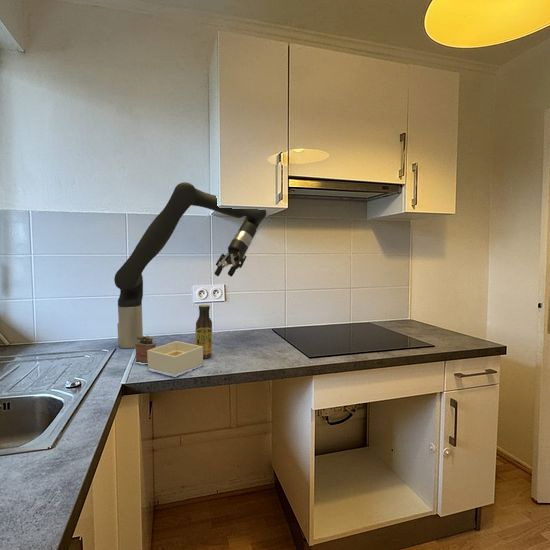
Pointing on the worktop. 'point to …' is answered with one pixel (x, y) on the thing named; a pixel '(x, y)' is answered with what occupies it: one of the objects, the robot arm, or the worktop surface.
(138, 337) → the potted plant
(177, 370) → the crate
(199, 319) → the sauce bottle
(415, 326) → the worktop surface
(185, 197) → the robot arm
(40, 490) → the worktop surface
